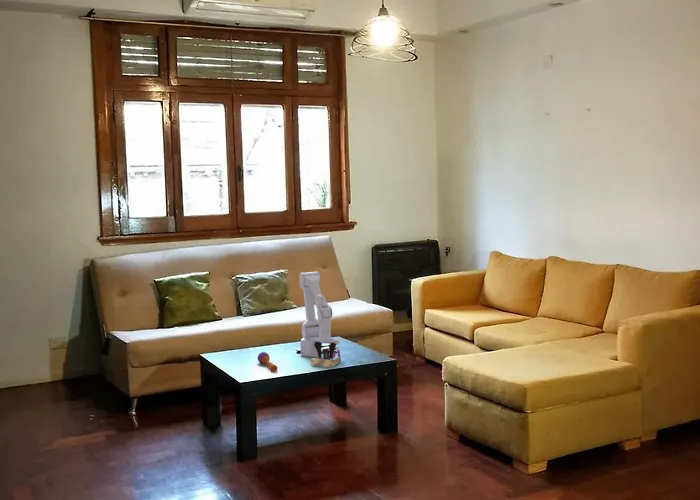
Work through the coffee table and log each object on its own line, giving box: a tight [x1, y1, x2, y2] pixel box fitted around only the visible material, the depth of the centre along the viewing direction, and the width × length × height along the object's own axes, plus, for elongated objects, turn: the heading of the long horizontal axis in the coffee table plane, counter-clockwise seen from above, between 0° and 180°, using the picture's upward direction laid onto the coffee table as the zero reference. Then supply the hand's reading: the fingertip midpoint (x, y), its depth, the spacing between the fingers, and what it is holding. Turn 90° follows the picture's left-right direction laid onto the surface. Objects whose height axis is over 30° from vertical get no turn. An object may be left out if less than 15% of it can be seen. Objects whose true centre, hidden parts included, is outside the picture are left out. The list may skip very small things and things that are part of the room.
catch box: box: [310, 354, 341, 368], centre depth 385 cm, size 11×12×4 cm
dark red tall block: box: [321, 346, 342, 361], centre depth 392 cm, size 7×5×9 cm
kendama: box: [257, 351, 278, 372], centre depth 382 cm, size 6×6×20 cm
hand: (325, 357), depth 385 cm, fingers open, 5 cm apart
